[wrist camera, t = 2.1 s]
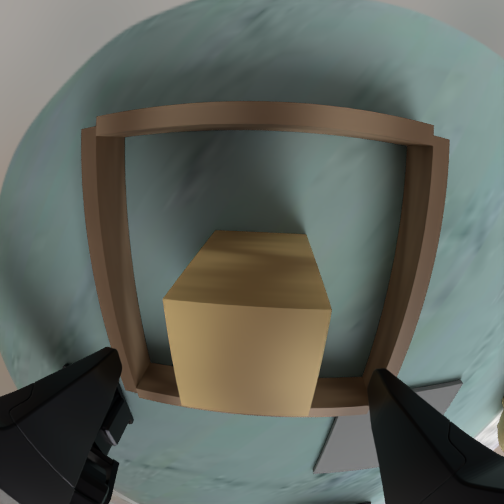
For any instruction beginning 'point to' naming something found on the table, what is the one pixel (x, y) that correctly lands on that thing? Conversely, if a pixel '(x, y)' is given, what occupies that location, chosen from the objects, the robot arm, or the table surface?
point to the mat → (370, 433)
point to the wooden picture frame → (272, 119)
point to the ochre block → (249, 324)
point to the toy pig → (501, 429)
